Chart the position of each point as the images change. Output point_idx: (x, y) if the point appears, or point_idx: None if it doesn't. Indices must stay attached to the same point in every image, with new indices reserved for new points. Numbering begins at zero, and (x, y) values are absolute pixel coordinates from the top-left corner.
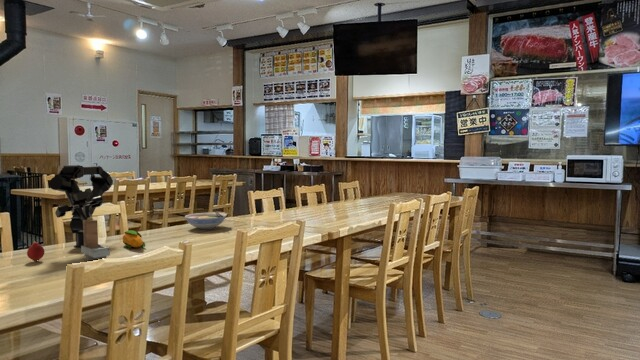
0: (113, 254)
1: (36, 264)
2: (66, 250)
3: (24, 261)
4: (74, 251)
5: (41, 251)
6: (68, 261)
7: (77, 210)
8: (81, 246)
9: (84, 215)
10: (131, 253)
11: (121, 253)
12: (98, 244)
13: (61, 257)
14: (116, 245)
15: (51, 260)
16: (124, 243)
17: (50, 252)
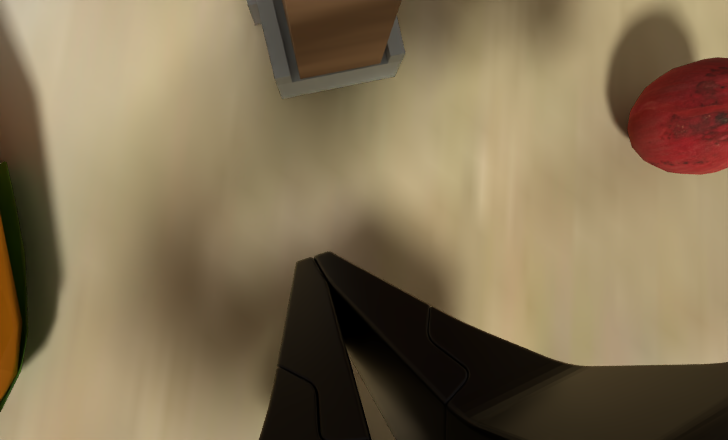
0: (177, 52)
1: (639, 46)
2: None
3: (697, 182)
4: None
5: (672, 73)
6: (471, 11)
7: (677, 375)
8: (402, 44)
9: (389, 333)
10: (47, 3)
11: (117, 51)
12: (264, 16)
13: (502, 170)
14: (98, 403)
15: (560, 111)
16: (23, 350)
17: None
